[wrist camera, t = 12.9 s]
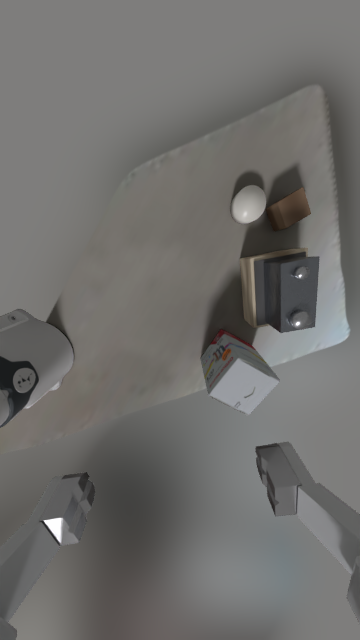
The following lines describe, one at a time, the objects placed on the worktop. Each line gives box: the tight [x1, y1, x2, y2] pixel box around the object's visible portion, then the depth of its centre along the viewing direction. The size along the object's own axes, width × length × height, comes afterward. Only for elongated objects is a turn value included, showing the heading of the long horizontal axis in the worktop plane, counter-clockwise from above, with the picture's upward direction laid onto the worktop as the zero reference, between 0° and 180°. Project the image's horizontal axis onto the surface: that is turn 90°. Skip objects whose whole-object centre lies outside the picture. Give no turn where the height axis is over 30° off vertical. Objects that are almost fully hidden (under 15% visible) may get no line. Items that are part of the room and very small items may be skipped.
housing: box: [263, 257, 319, 333], centre depth 27 cm, size 10×5×6 cm, turn 10°
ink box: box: [201, 329, 280, 415], centre depth 34 cm, size 9×9×12 cm
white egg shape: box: [230, 185, 266, 224], centre depth 30 cm, size 5×5×2 cm
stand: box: [240, 248, 308, 328], centre depth 33 cm, size 9×12×5 cm
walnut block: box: [265, 187, 311, 231], centre depth 29 cm, size 4×4×4 cm
